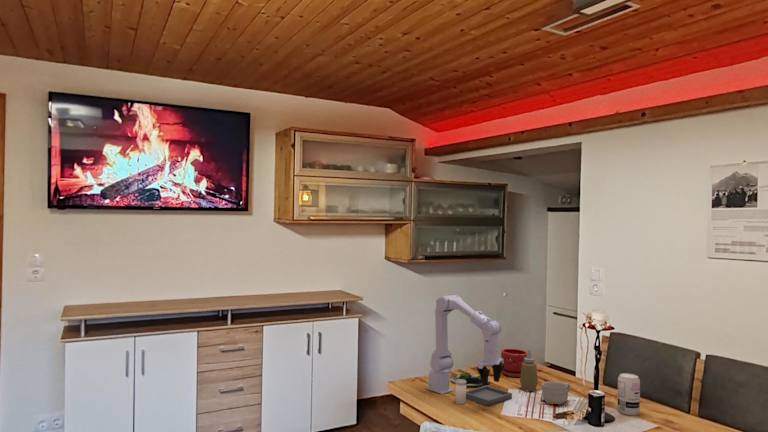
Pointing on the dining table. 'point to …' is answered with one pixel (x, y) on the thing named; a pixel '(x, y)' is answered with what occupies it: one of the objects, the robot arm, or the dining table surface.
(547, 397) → the teacup
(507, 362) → the plant pot
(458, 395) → the salt shaker
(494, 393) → the tray
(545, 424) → the dining table surface
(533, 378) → the squeeze bottle
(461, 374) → the salad plate
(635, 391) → the supplement can
